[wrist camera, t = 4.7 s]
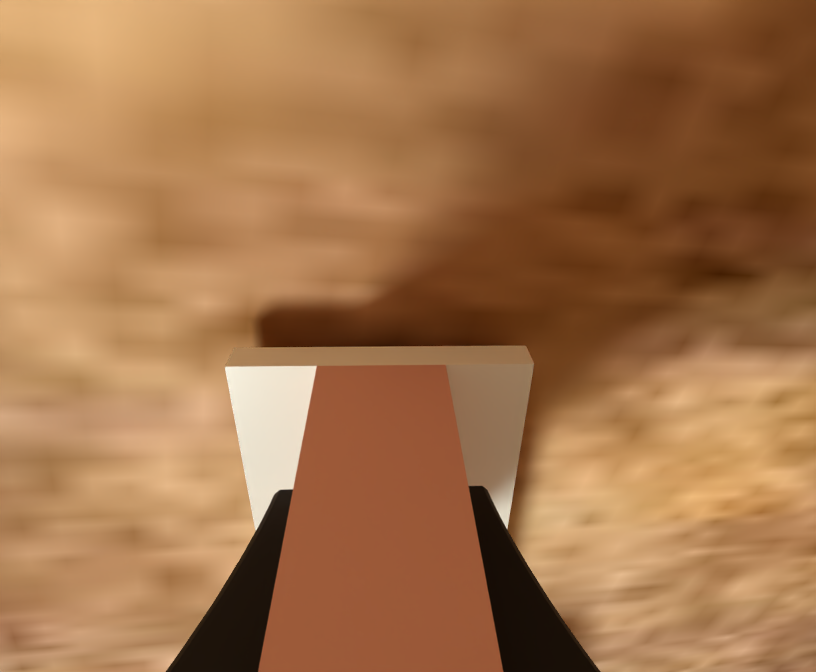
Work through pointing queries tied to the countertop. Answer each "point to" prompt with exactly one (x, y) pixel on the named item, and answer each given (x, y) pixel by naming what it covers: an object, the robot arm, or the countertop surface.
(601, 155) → the countertop surface
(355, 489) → the pink and white block
